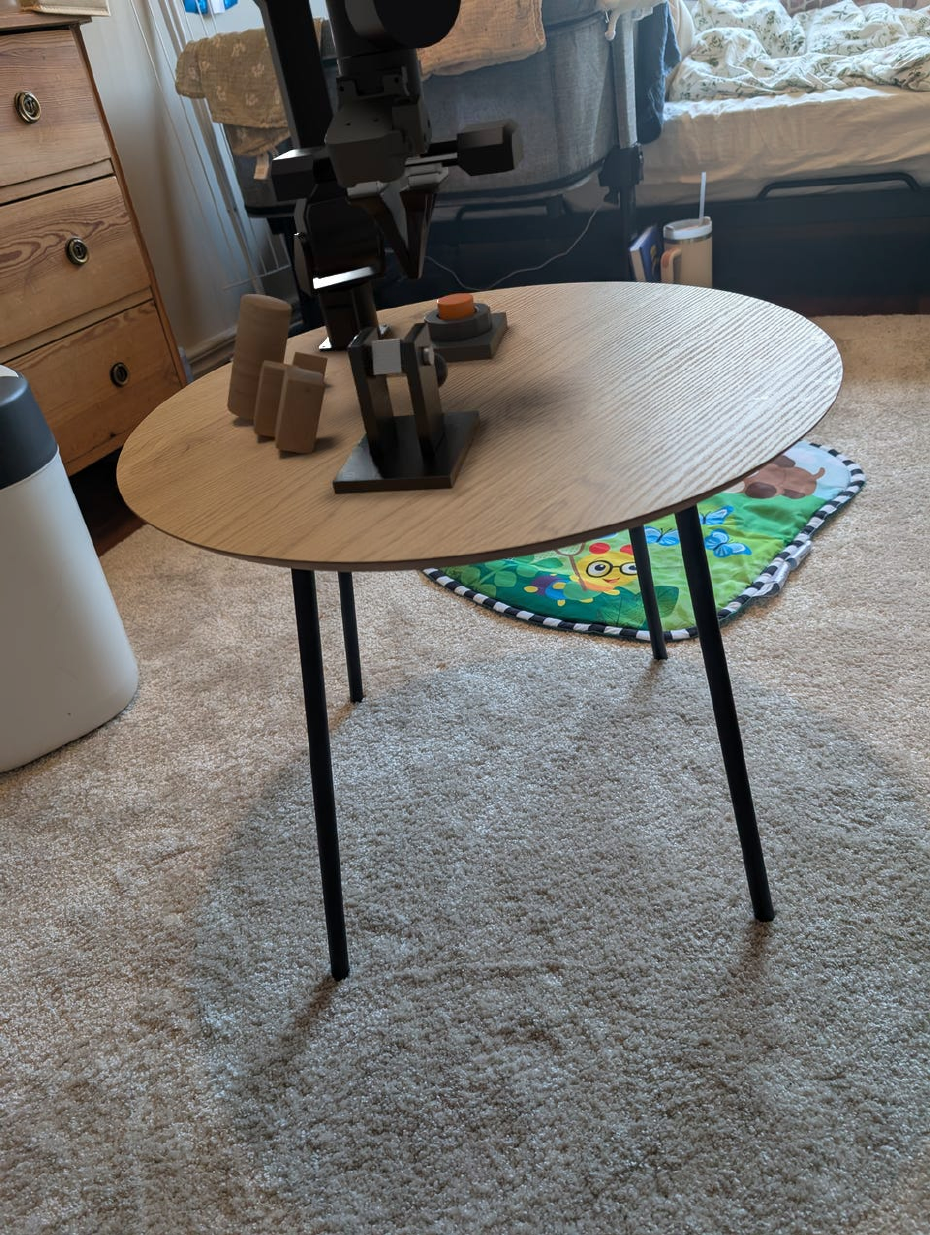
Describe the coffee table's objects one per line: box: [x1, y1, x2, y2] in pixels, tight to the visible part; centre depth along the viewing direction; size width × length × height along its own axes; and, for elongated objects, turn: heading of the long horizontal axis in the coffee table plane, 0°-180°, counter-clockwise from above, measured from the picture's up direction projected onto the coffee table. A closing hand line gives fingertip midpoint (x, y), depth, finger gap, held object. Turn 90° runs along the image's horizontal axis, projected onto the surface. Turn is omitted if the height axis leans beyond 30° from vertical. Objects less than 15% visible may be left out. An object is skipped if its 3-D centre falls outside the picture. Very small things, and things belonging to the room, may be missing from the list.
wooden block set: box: [226, 293, 328, 455], centre depth 78 cm, size 18×9×10 cm, turn 11°
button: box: [436, 292, 475, 320], centre depth 89 cm, size 4×4×2 cm
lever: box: [371, 338, 449, 389], centre depth 71 cm, size 13×3×3 cm, turn 169°
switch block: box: [423, 302, 509, 364], centre depth 90 cm, size 10×8×4 cm
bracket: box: [331, 321, 481, 495], centre depth 68 cm, size 12×9×10 cm
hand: (415, 278), depth 72 cm, fingers closed
